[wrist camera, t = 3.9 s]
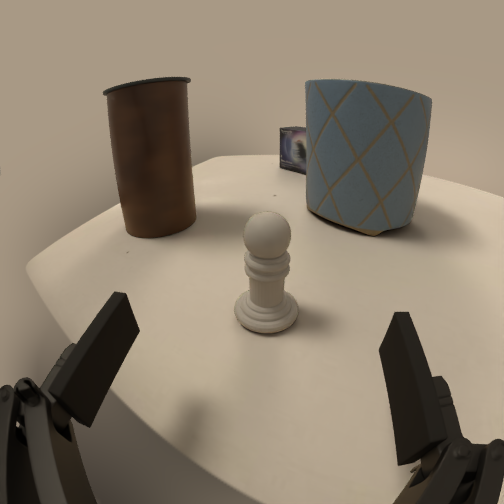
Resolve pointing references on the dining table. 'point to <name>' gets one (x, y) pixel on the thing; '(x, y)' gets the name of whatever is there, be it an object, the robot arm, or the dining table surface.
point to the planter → (364, 152)
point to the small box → (293, 149)
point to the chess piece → (266, 275)
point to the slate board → (147, 82)
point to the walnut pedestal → (152, 157)
